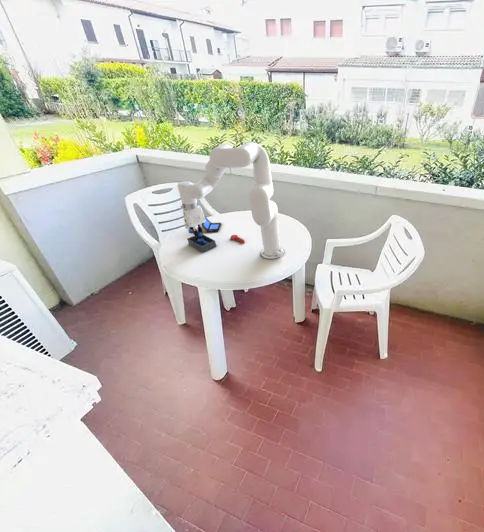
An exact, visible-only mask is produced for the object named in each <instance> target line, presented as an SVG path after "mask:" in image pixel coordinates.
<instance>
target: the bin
mask: <svg viewBox="0 0 484 532" xmlns="http://www.w3.org/2000/svg"><path fill="white" fill-rule="evenodd" d="M199 238H204V239H205V241H207V242H209V243H208V244H203V243H201V244H200V243H198V242H197V240H198V239H199ZM186 240H187V244H188V246H191V247H192V248H194V249H196V250H197V251H199V252H201V254H202V253H205V252H208V251H210V250H212V249H214V248H217V243H216V240H215V239H213V238H211V237H209V236H207V235H205V234H203V235H202V236H201V237H200V236H198V237H197V236H195V235H193V236H190V237H188V238H186Z"/></svg>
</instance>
